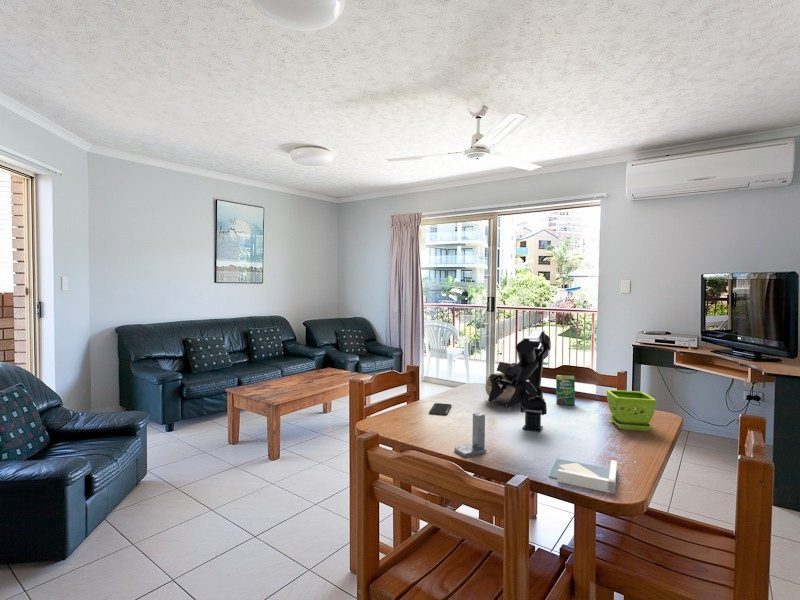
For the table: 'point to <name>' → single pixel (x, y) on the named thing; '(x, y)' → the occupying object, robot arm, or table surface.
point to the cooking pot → (505, 395)
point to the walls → (590, 479)
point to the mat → (578, 469)
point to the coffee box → (565, 390)
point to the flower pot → (631, 409)
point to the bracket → (475, 438)
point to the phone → (440, 409)
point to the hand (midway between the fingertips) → (497, 404)
